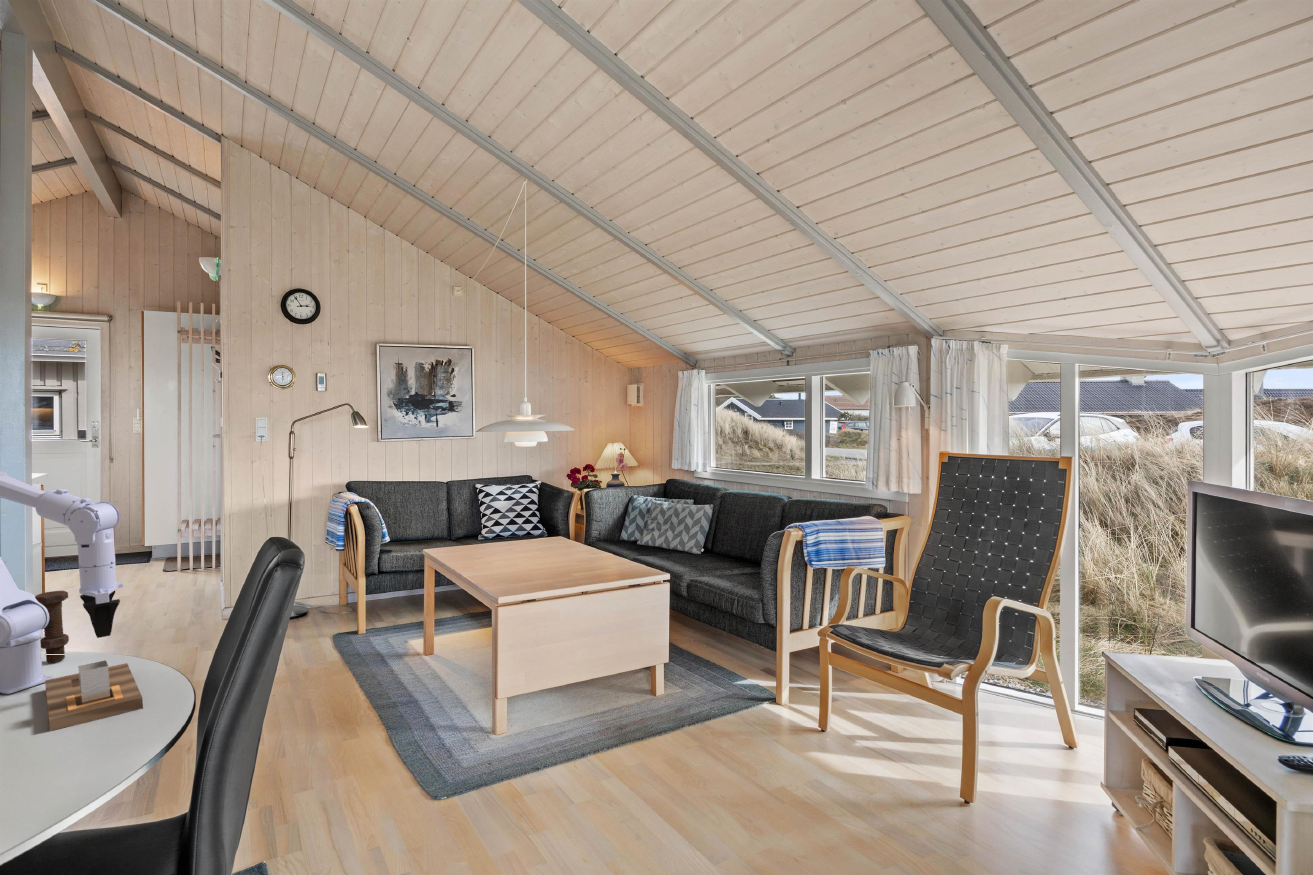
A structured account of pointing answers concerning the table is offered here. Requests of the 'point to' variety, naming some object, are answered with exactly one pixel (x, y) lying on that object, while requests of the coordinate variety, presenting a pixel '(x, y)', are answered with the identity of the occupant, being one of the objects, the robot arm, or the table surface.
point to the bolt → (53, 625)
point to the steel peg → (94, 682)
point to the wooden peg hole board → (71, 712)
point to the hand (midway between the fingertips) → (101, 631)
